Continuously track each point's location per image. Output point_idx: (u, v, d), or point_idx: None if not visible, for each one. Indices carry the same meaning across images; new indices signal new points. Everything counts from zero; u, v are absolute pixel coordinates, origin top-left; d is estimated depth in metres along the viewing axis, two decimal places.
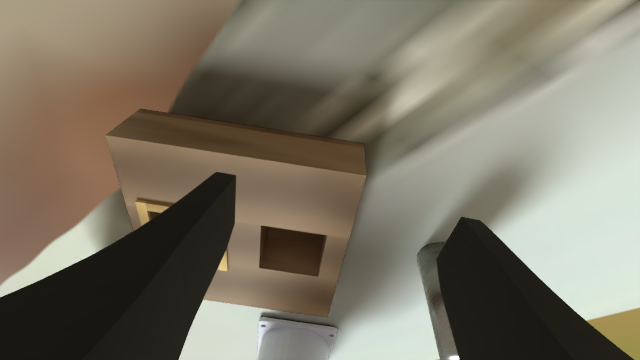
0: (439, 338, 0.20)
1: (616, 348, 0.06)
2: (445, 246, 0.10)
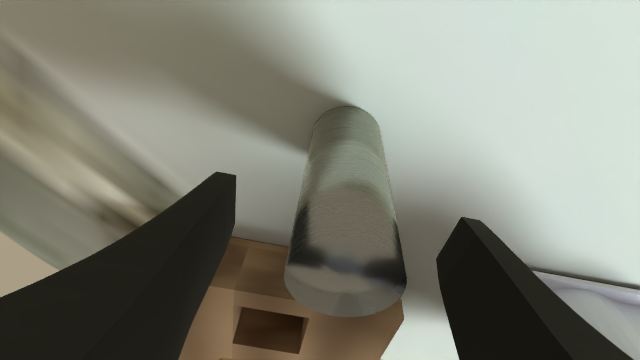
0: None
1: (616, 348, 0.06)
2: (445, 246, 0.10)
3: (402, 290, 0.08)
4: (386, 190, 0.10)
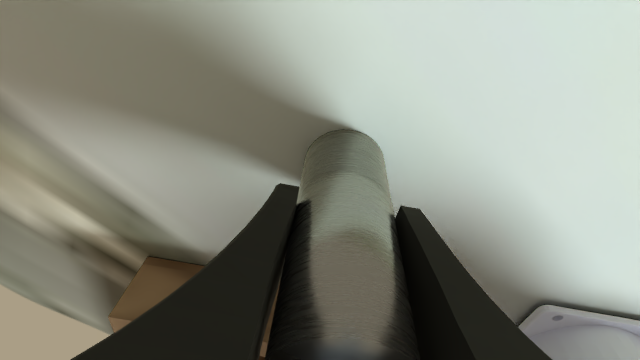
0: None
1: (519, 332, 0.06)
2: None
3: None
4: (394, 246, 0.08)
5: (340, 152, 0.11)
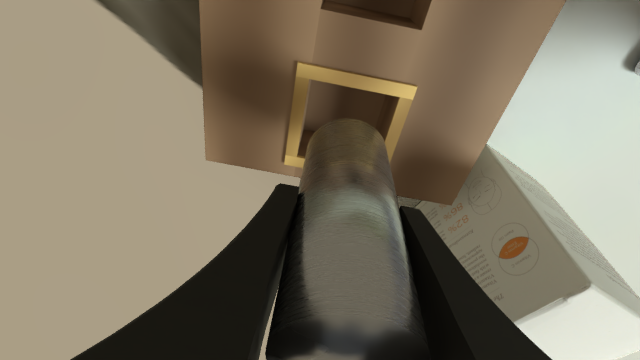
0: None
1: (519, 332, 0.06)
2: None
3: None
4: (400, 231, 0.08)
5: (345, 139, 0.11)
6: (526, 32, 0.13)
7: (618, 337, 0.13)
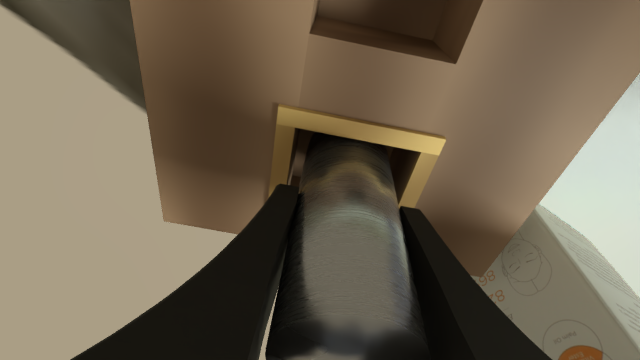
0: None
1: (519, 332, 0.06)
2: None
3: None
4: (400, 232, 0.08)
5: (345, 139, 0.11)
6: (610, 68, 0.09)
7: None
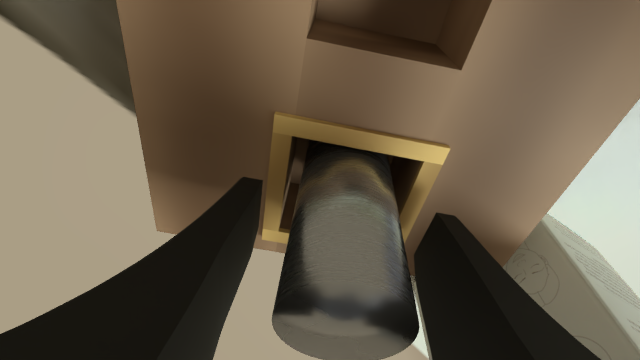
0: None
1: (576, 341, 0.06)
2: (421, 242, 0.10)
3: (412, 339, 0.07)
4: (394, 214, 0.09)
5: None
6: (624, 74, 0.08)
7: None
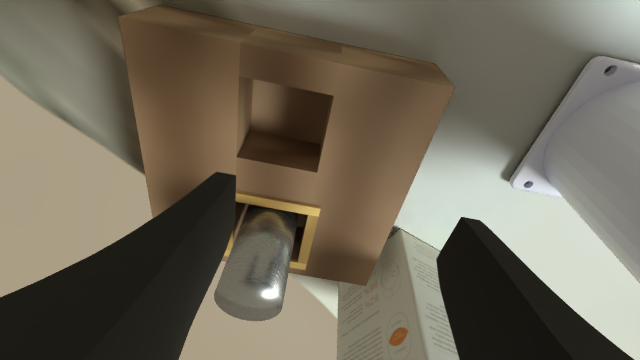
0: None
1: (616, 348, 0.06)
2: (445, 246, 0.10)
3: (281, 307, 0.15)
4: (283, 245, 0.16)
5: None
6: (398, 176, 0.16)
7: None
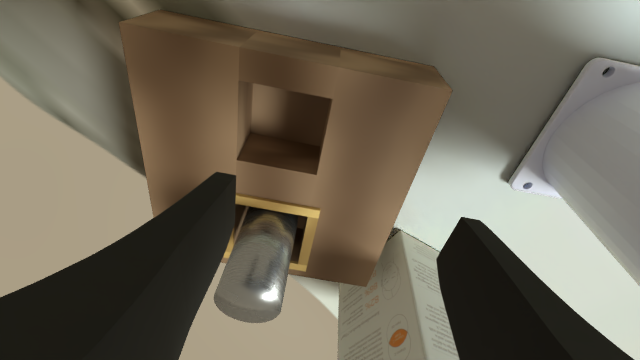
0: None
1: (616, 348, 0.06)
2: (445, 246, 0.10)
3: (280, 309, 0.15)
4: (283, 247, 0.17)
5: None
6: (397, 178, 0.16)
7: None
